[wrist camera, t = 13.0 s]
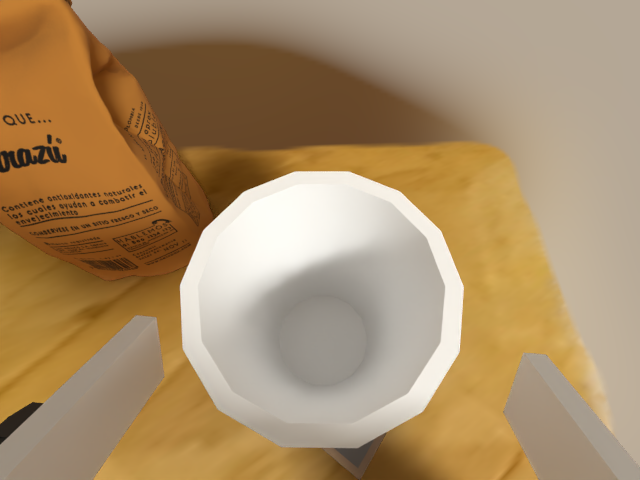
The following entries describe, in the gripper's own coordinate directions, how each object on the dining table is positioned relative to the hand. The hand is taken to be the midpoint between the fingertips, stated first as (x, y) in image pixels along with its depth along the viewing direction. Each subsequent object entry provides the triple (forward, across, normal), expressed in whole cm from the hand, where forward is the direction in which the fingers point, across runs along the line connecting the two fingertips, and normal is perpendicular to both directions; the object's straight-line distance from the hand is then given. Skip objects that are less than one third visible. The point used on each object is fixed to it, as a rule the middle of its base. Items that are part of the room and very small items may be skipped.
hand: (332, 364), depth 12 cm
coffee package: (+21, -18, -4) cm, 28 cm away
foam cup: (+9, -1, -6) cm, 11 cm away
